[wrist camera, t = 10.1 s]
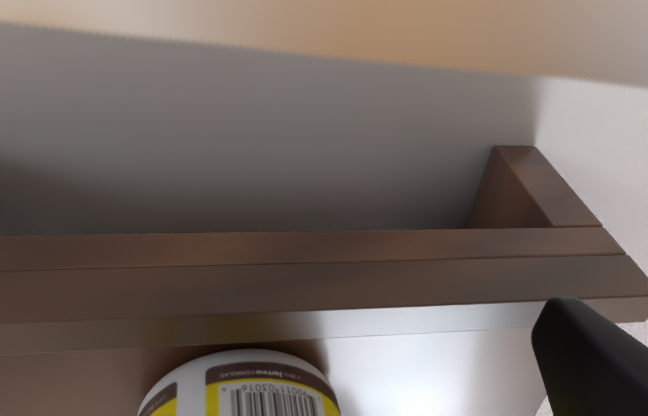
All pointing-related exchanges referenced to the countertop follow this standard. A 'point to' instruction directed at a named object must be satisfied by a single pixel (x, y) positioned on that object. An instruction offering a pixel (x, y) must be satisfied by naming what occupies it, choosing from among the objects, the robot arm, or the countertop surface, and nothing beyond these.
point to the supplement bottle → (242, 387)
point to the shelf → (316, 304)
